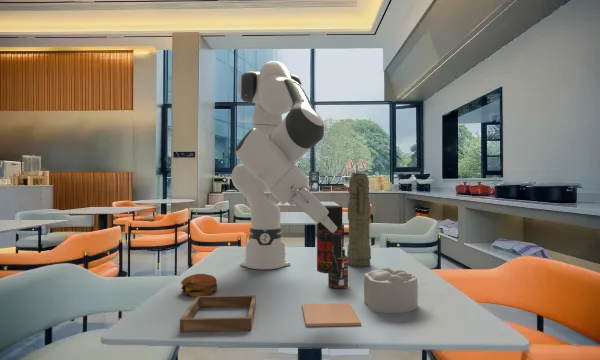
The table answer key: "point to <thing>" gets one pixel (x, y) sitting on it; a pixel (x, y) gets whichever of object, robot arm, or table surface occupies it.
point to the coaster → (330, 314)
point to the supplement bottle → (340, 275)
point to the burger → (199, 285)
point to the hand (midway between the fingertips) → (332, 228)
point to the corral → (218, 323)
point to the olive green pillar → (359, 221)
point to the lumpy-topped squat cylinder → (390, 291)
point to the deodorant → (330, 243)
